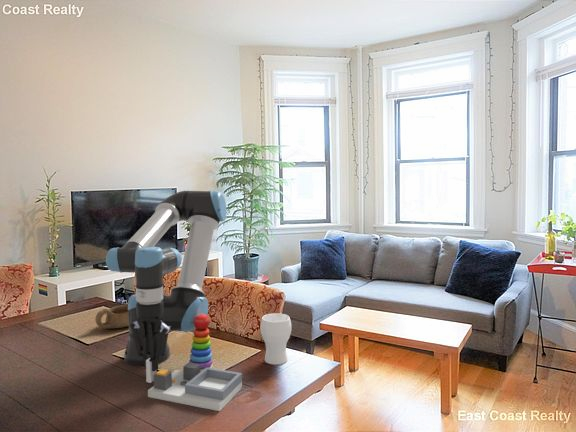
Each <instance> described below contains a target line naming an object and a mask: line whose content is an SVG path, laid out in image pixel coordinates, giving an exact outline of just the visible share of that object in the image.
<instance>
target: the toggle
mask: <svg viewBox="0 0 576 432" xmlns="http://www.w3.org/2000/svg"><path fill="white" fill-rule="evenodd" d="M182 371H183V379H184V380H189V381H190V380H191V379H193V378H194V377H195V376H196V375H198V374H199V373H200V364H194V363H189V362H187V363H186V364H184V365H183V370H182Z"/></svg>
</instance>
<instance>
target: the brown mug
mask: <svg viewBox="0 0 576 432" xmlns="http://www.w3.org/2000/svg"><path fill="white" fill-rule="evenodd" d="M104 315H105V317H106V318H105V322H102V318H103V317H104ZM94 319H95V323H96V325H97V326H98V327H99V328H101V329H122V328H126V327H127V328H129V318H128V303H127V304H126V303H125V304H121V305H115V306H113V307H109V308H104V309H100V310H99V311H98V312H97V314H96V315H95V317H94Z"/></svg>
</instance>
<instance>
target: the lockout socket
mask: <svg viewBox="0 0 576 432" xmlns="http://www.w3.org/2000/svg"><path fill="white" fill-rule="evenodd" d="M207 377H210V378H216V379H222V380H227V381H230V382H229V383H228V384H227V385H226V386H225V387H224V388H223V389H216V388H211V387H205V386H200V385H199V384H200V383H201V382H203V381H204V380H205V379H206V378H207ZM241 382H242V383H243V373H242V372H236V371H231V370H226V369H225V370H224V369H219V368H214V367H213V368H207V367H206V368H205V369H204V370H203V371H201V372H200V373H199V374H198V375H196V376H195V377H194V378H193V379H191V380H190V381H189V382H188V383H186V384H185V393H186V394H191V395H197V396H202V397H207V398H212V399H218V400H224V399H225V398H226V397H227V396H228V395H229V394H230V393H231V392H232V391H233V390H234V389H235V388H236V387H237V386H238V385H239V384H240V383H241Z"/></svg>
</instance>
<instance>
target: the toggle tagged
mask: <svg viewBox="0 0 576 432" xmlns="http://www.w3.org/2000/svg"><path fill="white" fill-rule="evenodd" d="M172 372H173V371H172ZM172 372H171V371H169V369H162V368H161V369H160V370H158V371H156V373H155V374H154V381H153V386H154V388H156V389H162V390H167V389H168V388H169V387H171V386H172Z"/></svg>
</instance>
